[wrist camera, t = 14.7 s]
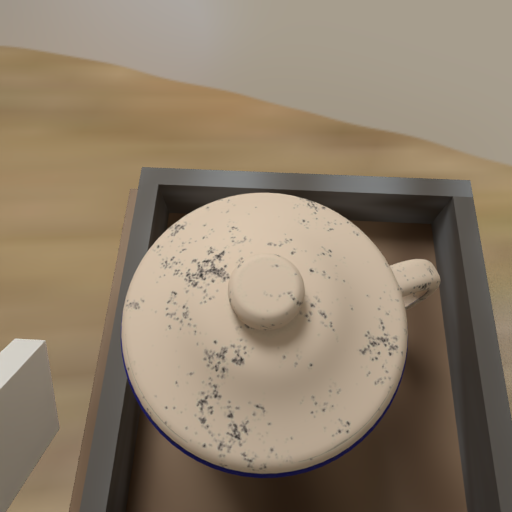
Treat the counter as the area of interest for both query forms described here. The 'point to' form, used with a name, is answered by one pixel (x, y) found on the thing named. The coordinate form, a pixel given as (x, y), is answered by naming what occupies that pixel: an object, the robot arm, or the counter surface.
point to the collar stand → (402, 407)
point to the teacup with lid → (268, 334)
